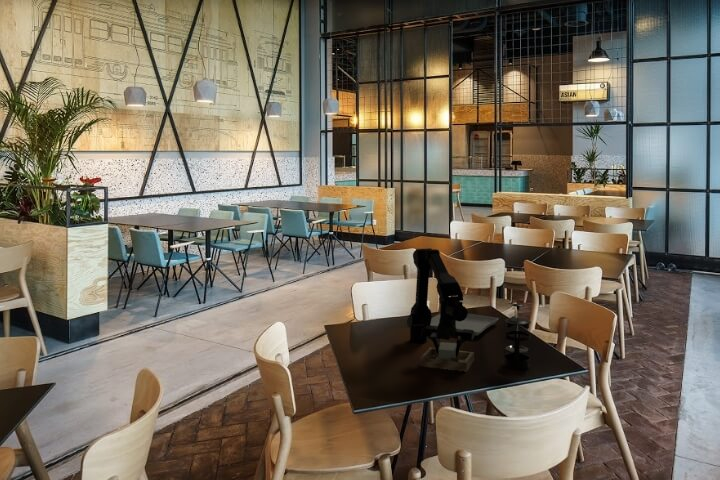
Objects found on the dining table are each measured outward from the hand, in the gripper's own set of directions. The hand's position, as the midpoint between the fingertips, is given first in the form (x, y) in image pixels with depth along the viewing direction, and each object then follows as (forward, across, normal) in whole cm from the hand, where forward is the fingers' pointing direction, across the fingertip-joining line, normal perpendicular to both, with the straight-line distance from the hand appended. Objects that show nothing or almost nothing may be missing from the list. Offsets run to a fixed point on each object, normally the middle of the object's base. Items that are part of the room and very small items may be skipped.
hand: (447, 355), depth 219 cm
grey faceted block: (+1, 0, 0) cm, 1 cm away
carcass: (+3, 0, 0) cm, 3 cm away
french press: (+3, +24, +7) cm, 25 cm away
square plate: (+4, -6, +49) cm, 49 cm away
